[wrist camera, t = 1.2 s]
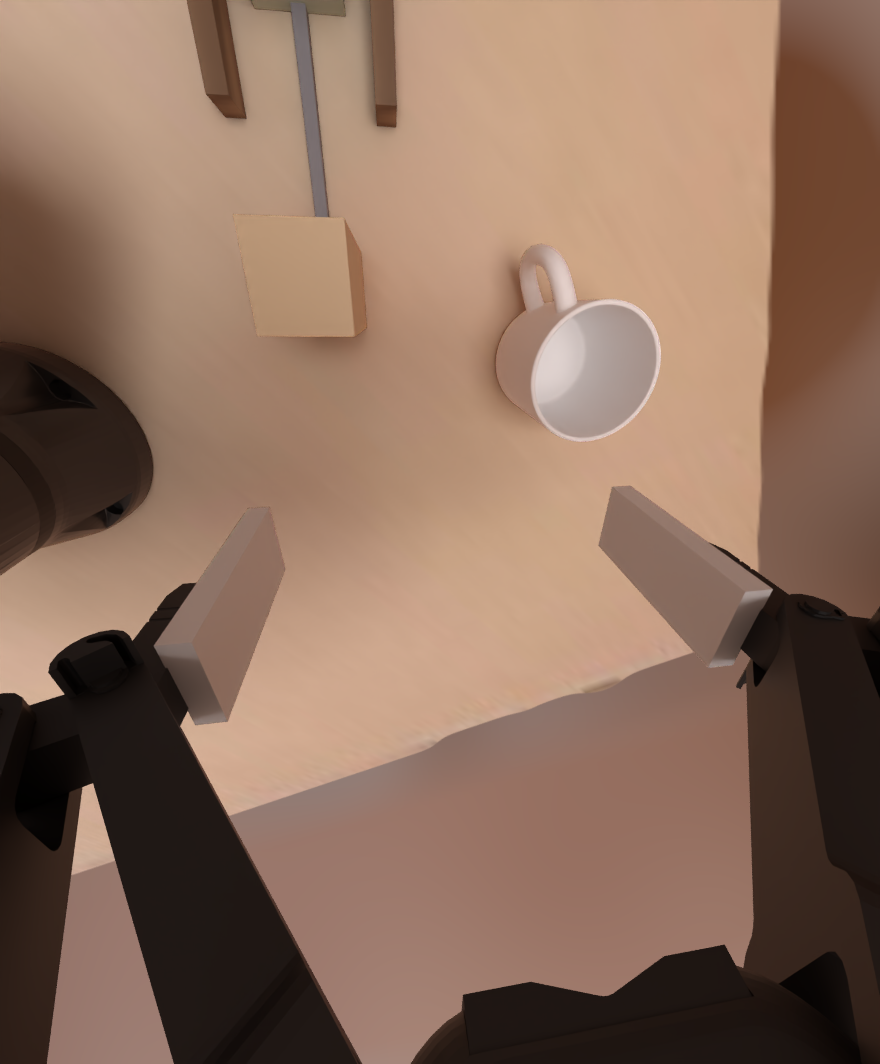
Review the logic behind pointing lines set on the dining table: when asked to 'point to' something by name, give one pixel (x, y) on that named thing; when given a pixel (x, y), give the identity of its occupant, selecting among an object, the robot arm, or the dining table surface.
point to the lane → (223, 71)
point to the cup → (576, 355)
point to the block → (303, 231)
